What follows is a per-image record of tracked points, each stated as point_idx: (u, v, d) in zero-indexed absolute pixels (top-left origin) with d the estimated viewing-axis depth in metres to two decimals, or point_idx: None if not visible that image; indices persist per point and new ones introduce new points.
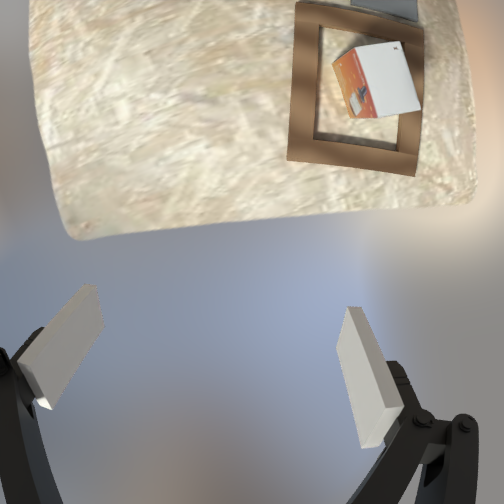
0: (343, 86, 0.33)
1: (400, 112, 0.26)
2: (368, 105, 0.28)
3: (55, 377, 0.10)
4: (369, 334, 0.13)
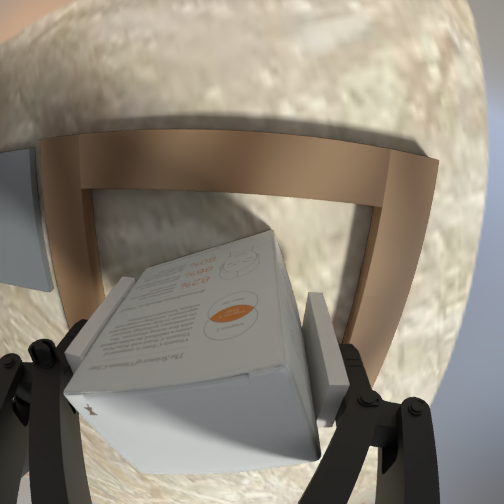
0: None
1: (304, 423, 0.08)
2: None
3: None
4: (325, 317, 0.14)
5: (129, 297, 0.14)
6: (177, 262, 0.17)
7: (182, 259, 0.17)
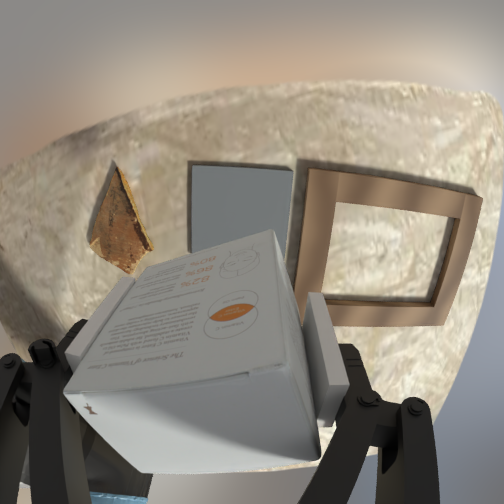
0: None
1: (304, 422, 0.08)
2: None
3: None
4: (325, 317, 0.14)
5: (129, 297, 0.14)
6: (177, 262, 0.17)
7: (182, 258, 0.17)
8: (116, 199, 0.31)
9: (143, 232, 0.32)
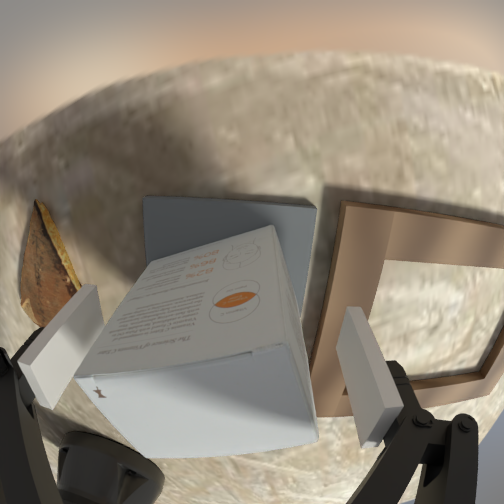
0: None
1: (303, 402, 0.09)
2: None
3: (55, 377, 0.10)
4: (369, 334, 0.13)
5: (135, 288, 0.15)
6: (181, 255, 0.17)
7: (186, 252, 0.18)
8: (40, 248, 0.18)
9: None
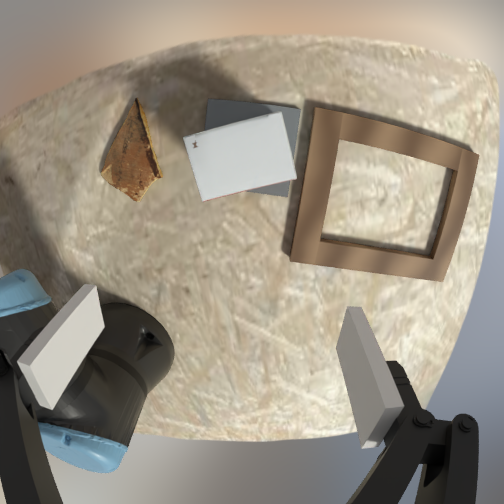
0: None
1: (287, 145, 0.22)
2: None
3: (55, 377, 0.10)
4: (369, 334, 0.13)
5: None
6: None
7: None
8: (132, 127, 0.32)
9: (154, 159, 0.33)
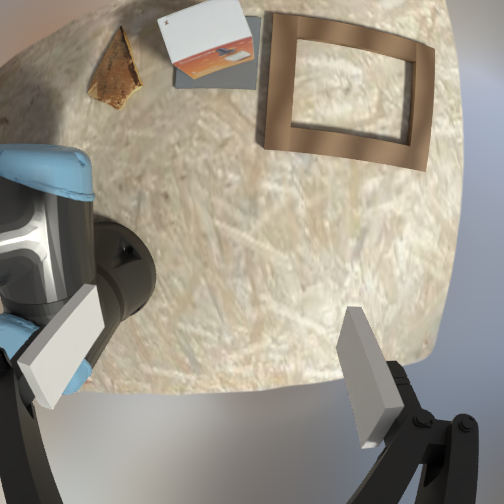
0: (218, 67, 0.31)
1: (242, 13, 0.22)
2: (238, 45, 0.24)
3: (55, 377, 0.10)
4: (369, 334, 0.13)
5: None
6: None
7: None
8: (117, 48, 0.31)
9: (135, 70, 0.33)
